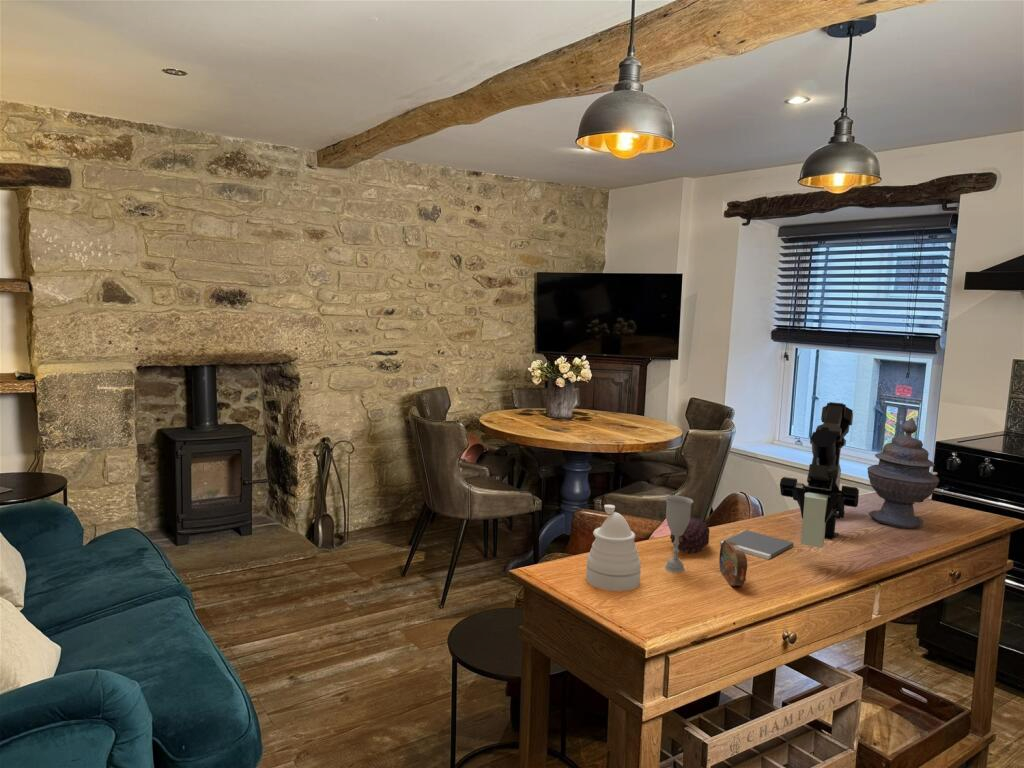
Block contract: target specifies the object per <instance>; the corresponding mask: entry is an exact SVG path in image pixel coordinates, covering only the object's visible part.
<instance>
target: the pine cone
mask: <svg viewBox="0 0 1024 768" xmlns="http://www.w3.org/2000/svg"><path fill="white" fill-rule="evenodd" d="M669 538H670V540H671V544H672V545H673V546H674V543H673V542H674V540H675V535H673V534H671V533H670V536H669ZM678 540H679V543H680V544H679V545H678V549H679V552H681V551H682V553H687V554H696V553H698V552H700V551H702V550H703V549H704V548H705V547H706V546H708V545H709V543H710V527H709V526H708V524H706V523H705V522H704V521H702V520H701V519H699V518H695V517H694V516H693V517H692V516H690V521H689V524H688V526H687V528H686V530H685V532H684V533H683V535H681V536H679V538H678Z"/></svg>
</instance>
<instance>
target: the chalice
mask: <svg viewBox="0 0 1024 768" xmlns="http://www.w3.org/2000/svg"><path fill="white" fill-rule="evenodd" d="M664 500H665V502H666V505H665V506H666V511H665V519H666V523H667V526H668V529H669V530H670V535H671V534H673V535H675V540H674V542H673V543H674V545H673V548H672V552H673V556H672V557H671V558H669V559H668V560H667V562H666V565H665V566H664V569H665V570H666V571H668V572H671V573H677V574H678V573H684V572H685V571H686V569H685V567H684V564H683V561H682V559H680V558H679V557H678V555H679V552H680V551H679V549H678V545H679V544H680V543H679V540H678V538H679V536H681V535H683V533H684V532H685V530H686V528H687V526H688V524H689V521H690V518H691V514H692V513H691V511H692V505H693V503H694V500H693V499H692V498H690V497H687V496H682V495H668V496H665V497H664ZM673 543H672V544H673Z"/></svg>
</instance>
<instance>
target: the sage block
mask: <svg viewBox="0 0 1024 768" xmlns="http://www.w3.org/2000/svg"><path fill="white" fill-rule="evenodd" d="M827 504H828V495H822V494H815V493H809V492H807V493H805V500H804V512H803V519H802V524H801V526H802V527H801V536H800V537H801V538H800V545H803V546H809V547H815V548H820V549H823V546H824V544H825V538H824V537H825V526H826V522H825V514H826V511H827Z"/></svg>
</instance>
